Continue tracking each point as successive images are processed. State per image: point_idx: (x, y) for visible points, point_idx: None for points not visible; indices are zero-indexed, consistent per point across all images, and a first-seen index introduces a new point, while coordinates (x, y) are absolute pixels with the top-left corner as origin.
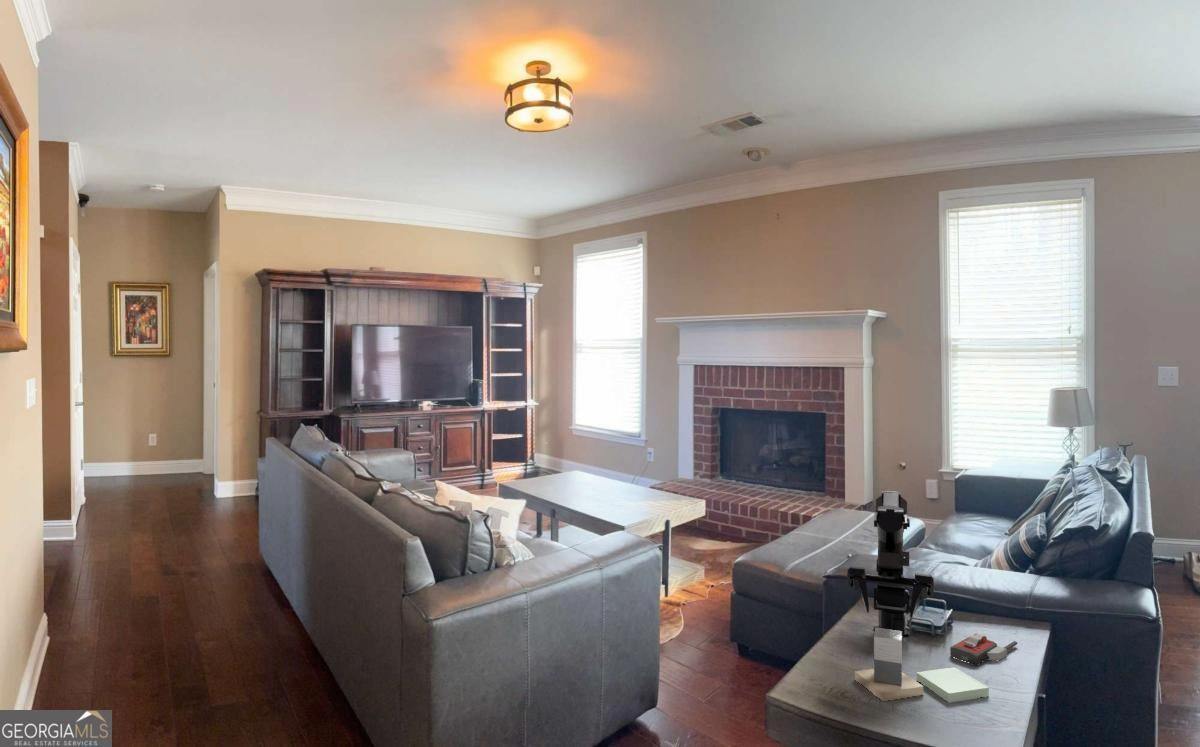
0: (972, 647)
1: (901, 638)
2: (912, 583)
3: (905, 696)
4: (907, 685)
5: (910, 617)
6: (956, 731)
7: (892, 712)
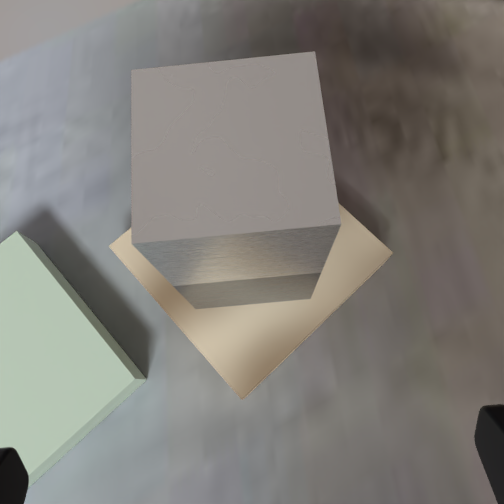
0: None
1: (132, 105)
2: None
3: None
4: None
5: (17, 455)
6: (35, 73)
7: None
